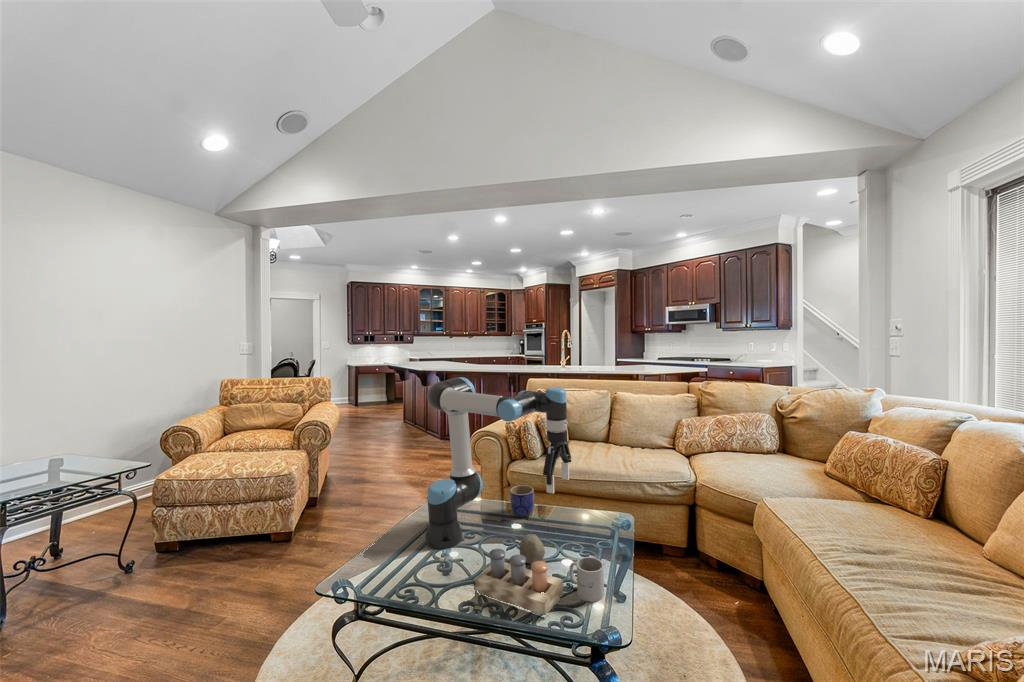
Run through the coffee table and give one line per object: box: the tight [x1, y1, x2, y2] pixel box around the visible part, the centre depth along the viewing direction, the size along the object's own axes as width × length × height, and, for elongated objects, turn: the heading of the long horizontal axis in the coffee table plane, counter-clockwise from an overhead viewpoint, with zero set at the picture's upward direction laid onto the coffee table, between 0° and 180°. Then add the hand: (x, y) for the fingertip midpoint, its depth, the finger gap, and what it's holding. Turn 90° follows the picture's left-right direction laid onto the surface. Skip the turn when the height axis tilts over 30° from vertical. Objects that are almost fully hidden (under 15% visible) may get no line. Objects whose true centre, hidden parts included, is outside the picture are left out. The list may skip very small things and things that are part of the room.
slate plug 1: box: [488, 548, 506, 577], centre depth 152 cm, size 5×5×7 cm
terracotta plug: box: [530, 560, 549, 591], centre depth 144 cm, size 5×5×7 cm
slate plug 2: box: [509, 554, 527, 584], centre depth 148 cm, size 5×5×7 cm
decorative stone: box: [519, 533, 546, 565], centre depth 166 cm, size 10×8×10 cm
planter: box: [509, 484, 535, 518], centre depth 205 cm, size 11×11×11 cm
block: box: [474, 561, 564, 615], centre depth 149 cm, size 26×13×5 cm, turn 59°
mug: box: [569, 556, 605, 603], centre depth 149 cm, size 12×9×10 cm
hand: (558, 485), depth 168 cm, fingers open, 13 cm apart
